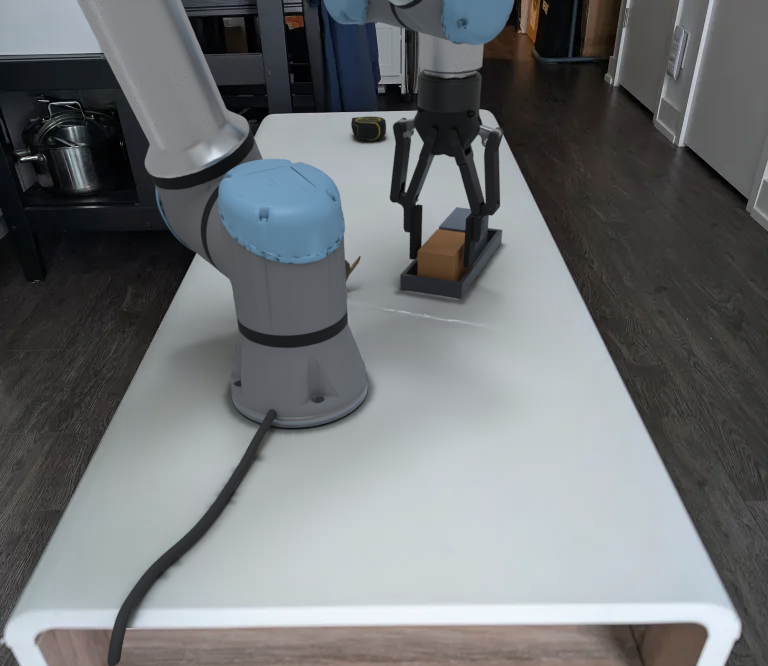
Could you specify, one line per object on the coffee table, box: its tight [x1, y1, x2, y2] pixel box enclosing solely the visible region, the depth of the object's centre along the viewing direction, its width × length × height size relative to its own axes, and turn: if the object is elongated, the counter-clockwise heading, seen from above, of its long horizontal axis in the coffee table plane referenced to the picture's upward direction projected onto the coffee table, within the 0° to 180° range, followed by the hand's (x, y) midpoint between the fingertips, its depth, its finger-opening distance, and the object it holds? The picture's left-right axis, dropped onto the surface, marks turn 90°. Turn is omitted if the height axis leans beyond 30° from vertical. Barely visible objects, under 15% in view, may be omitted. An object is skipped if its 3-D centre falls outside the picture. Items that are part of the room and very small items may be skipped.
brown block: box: [417, 228, 470, 282], centre depth 109 cm, size 8×5×5 cm, turn 158°
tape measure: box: [350, 116, 387, 142], centre depth 161 cm, size 7×7×4 cm
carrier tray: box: [399, 227, 503, 300], centre depth 113 cm, size 20×9×2 cm, turn 158°
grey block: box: [438, 206, 490, 265], centre depth 115 cm, size 8×5×5 cm, turn 158°
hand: (441, 259), depth 108 cm, fingers open, 7 cm apart
